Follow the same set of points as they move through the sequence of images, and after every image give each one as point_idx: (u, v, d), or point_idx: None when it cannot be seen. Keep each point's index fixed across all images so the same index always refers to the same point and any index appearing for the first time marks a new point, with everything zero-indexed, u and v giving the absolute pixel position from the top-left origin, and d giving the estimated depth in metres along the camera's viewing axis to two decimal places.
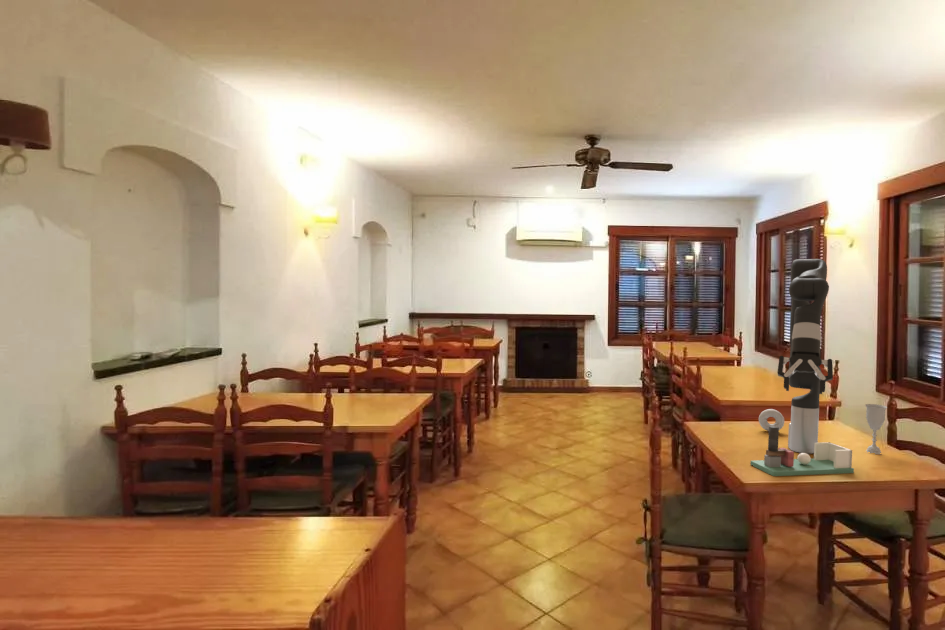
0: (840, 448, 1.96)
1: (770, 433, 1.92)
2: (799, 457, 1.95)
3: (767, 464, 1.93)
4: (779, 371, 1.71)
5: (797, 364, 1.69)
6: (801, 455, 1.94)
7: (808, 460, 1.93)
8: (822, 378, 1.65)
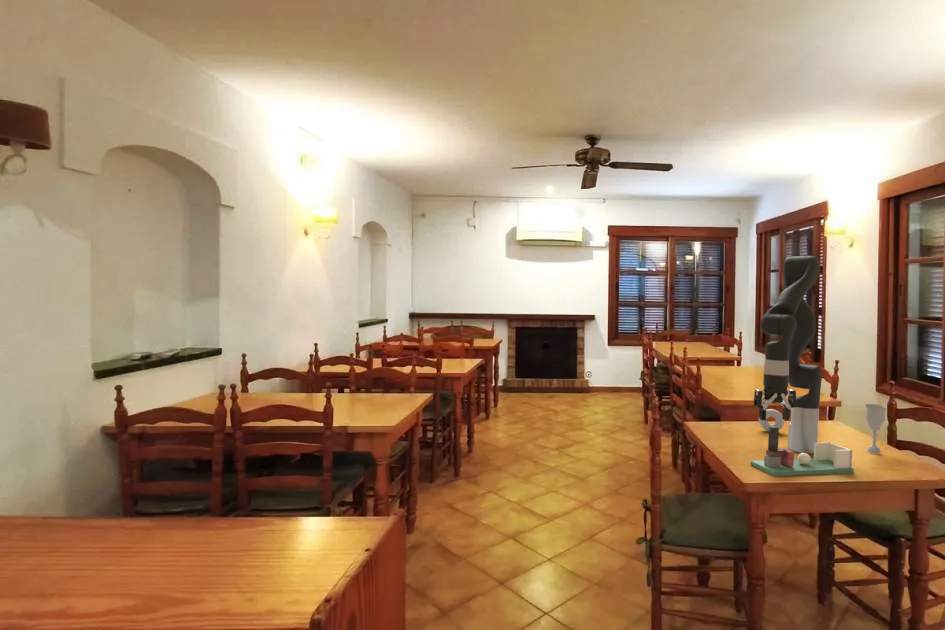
0: (840, 448, 1.96)
1: (770, 433, 1.92)
2: (799, 457, 1.95)
3: (767, 464, 1.93)
4: (759, 405, 1.90)
5: (773, 398, 1.90)
6: (801, 455, 1.94)
7: (808, 460, 1.93)
8: (789, 408, 1.92)
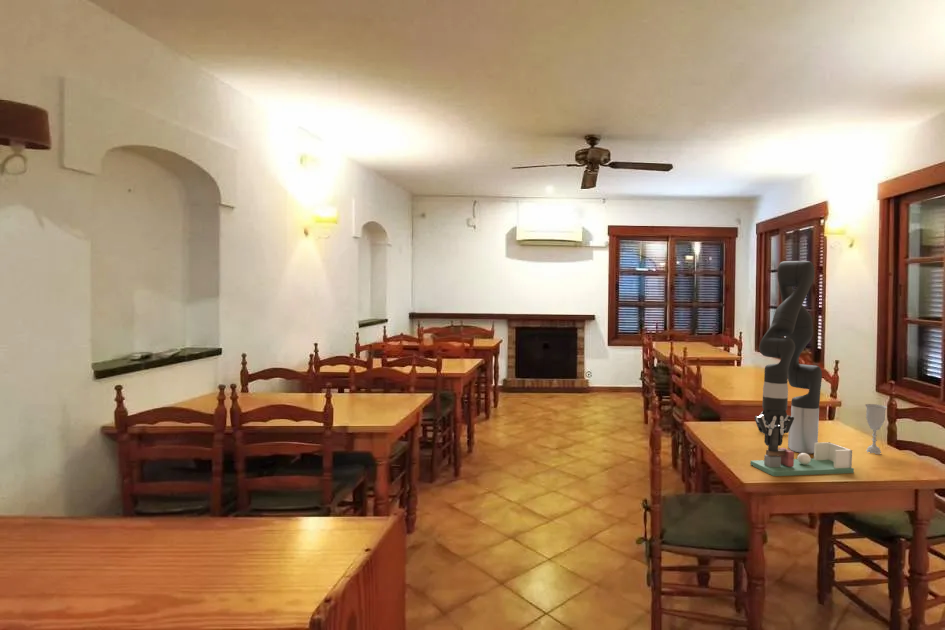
0: (840, 448, 1.96)
1: None
2: (799, 457, 1.95)
3: (767, 464, 1.93)
4: (764, 431, 1.91)
5: (774, 421, 1.91)
6: (801, 455, 1.94)
7: (808, 460, 1.93)
8: (781, 433, 1.92)
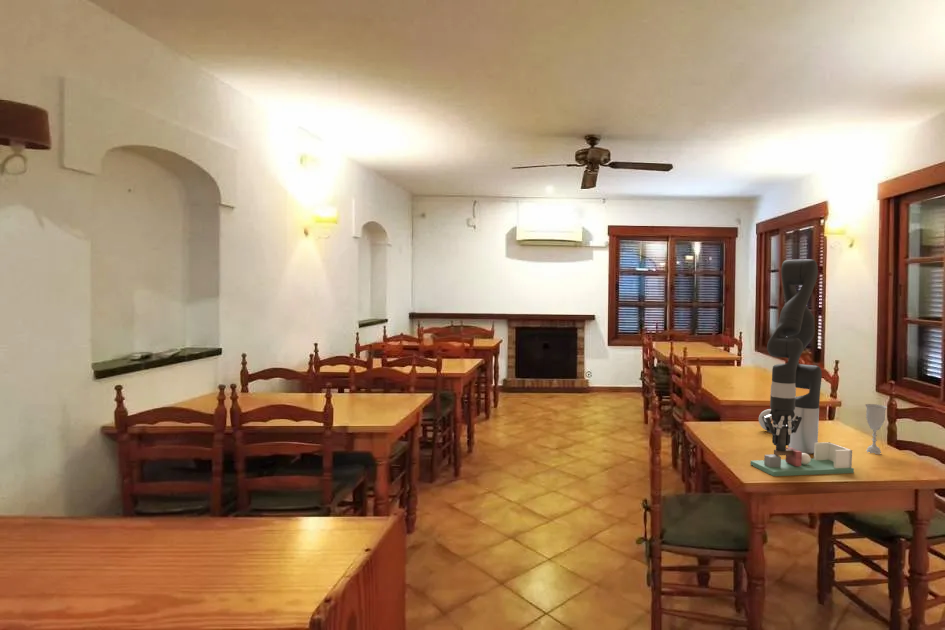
0: (840, 448, 1.96)
1: None
2: None
3: (767, 464, 1.93)
4: (772, 431, 1.91)
5: (781, 421, 1.91)
6: None
7: (808, 460, 1.93)
8: (789, 433, 1.92)
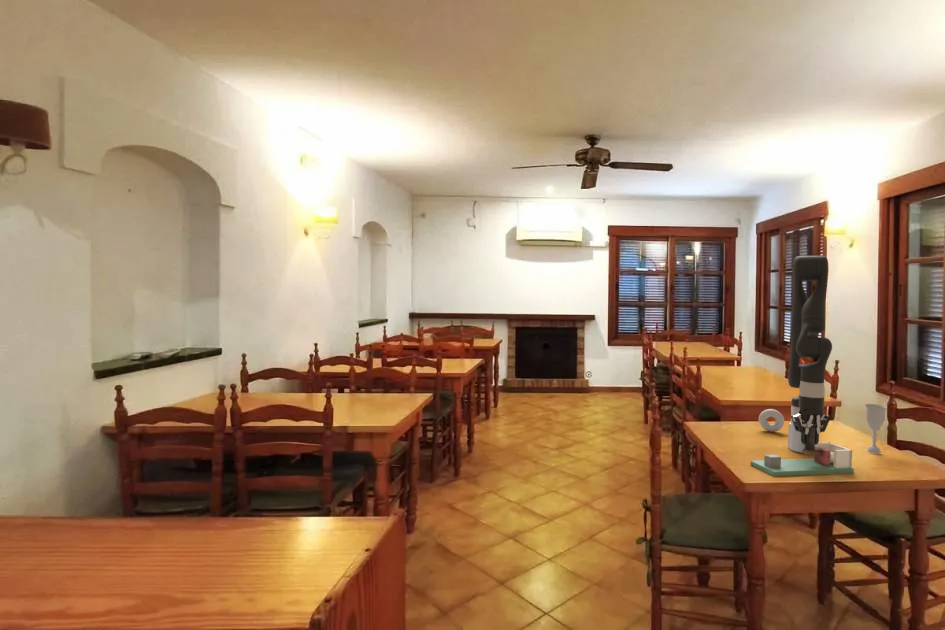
0: (840, 448, 1.96)
1: None
2: None
3: (767, 464, 1.93)
4: (801, 430, 1.93)
5: (810, 420, 1.93)
6: None
7: None
8: (818, 432, 1.94)
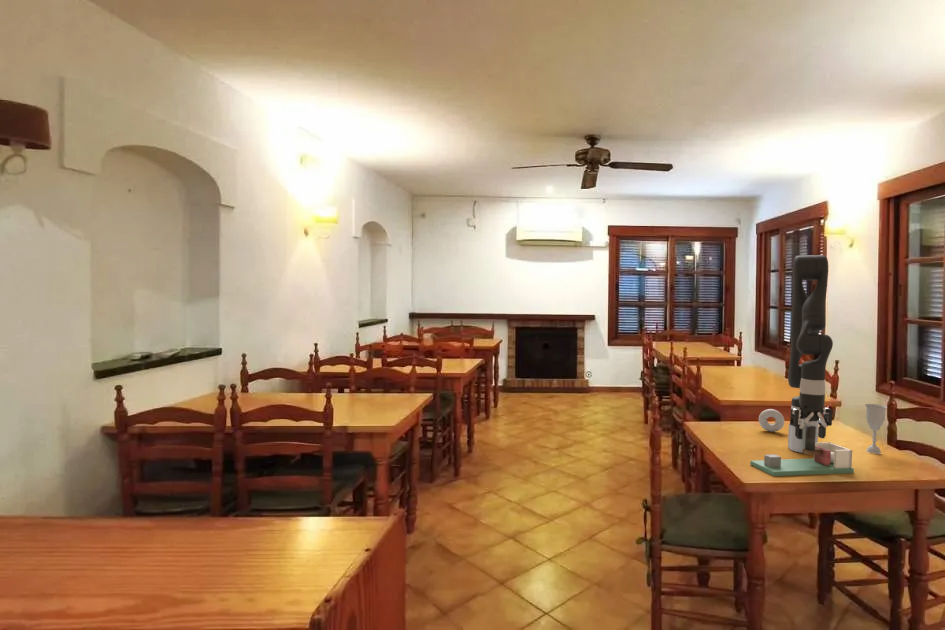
0: (840, 448, 1.96)
1: (807, 432, 1.94)
2: None
3: (767, 464, 1.93)
4: (796, 424, 1.93)
5: (809, 417, 1.93)
6: None
7: None
8: (825, 426, 1.94)
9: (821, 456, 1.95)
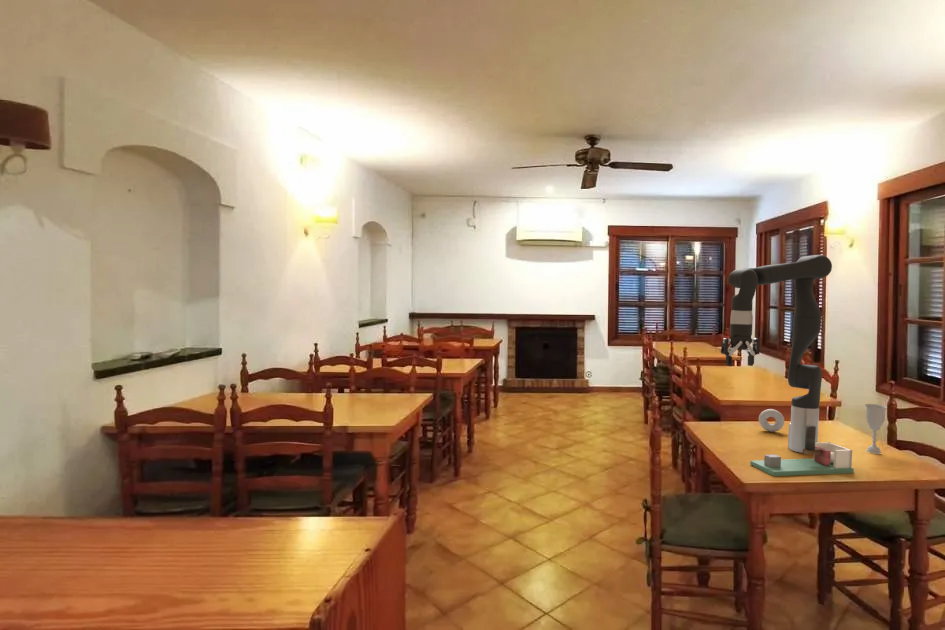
0: (840, 448, 1.96)
1: (807, 432, 1.94)
2: None
3: (767, 464, 1.93)
4: (726, 352, 2.09)
5: (738, 345, 2.09)
6: None
7: None
8: (753, 354, 2.11)
9: (821, 456, 1.95)
